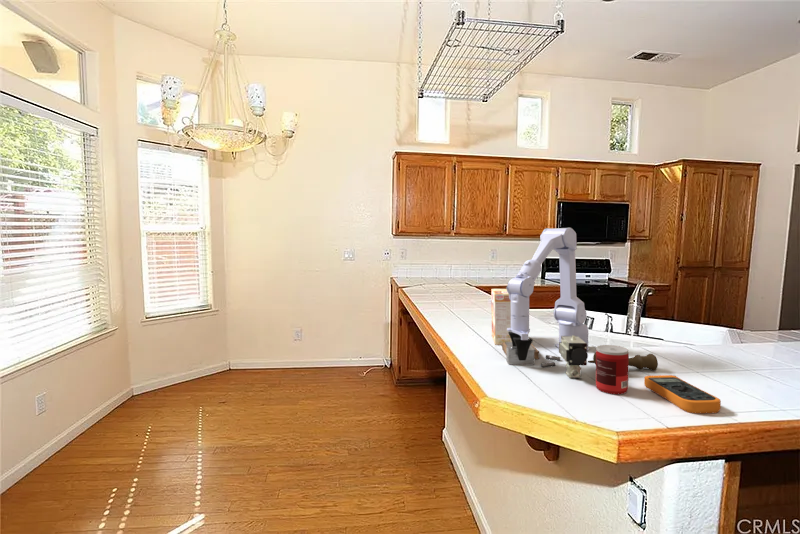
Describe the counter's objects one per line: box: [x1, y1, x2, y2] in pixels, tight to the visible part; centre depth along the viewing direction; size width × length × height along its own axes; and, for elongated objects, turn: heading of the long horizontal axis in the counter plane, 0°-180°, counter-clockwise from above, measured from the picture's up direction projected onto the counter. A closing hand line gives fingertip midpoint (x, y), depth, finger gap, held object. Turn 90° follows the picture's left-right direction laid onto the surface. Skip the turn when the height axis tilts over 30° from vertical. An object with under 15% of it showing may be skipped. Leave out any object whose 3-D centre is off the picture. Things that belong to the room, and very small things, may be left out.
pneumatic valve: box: [558, 335, 589, 379], centre depth 120 cm, size 6×12×12 cm, turn 173°
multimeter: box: [643, 374, 722, 415], centre depth 103 cm, size 9×18×3 cm, turn 0°
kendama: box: [587, 351, 659, 371], centre depth 125 cm, size 6×10×20 cm
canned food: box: [595, 344, 630, 395], centre depth 109 cm, size 8×8×11 cm
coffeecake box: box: [490, 288, 512, 346], centre depth 162 cm, size 15×7×20 cm, turn 172°
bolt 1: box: [545, 354, 561, 362], centre depth 137 cm, size 4×1×1 cm
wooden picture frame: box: [501, 342, 540, 360], centre depth 144 cm, size 10×12×3 cm
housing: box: [505, 346, 535, 366], centre depth 134 cm, size 8×4×5 cm, turn 85°
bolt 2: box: [540, 361, 556, 369], centre depth 130 cm, size 4×1×1 cm
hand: (519, 356), depth 134 cm, fingers open, 6 cm apart
